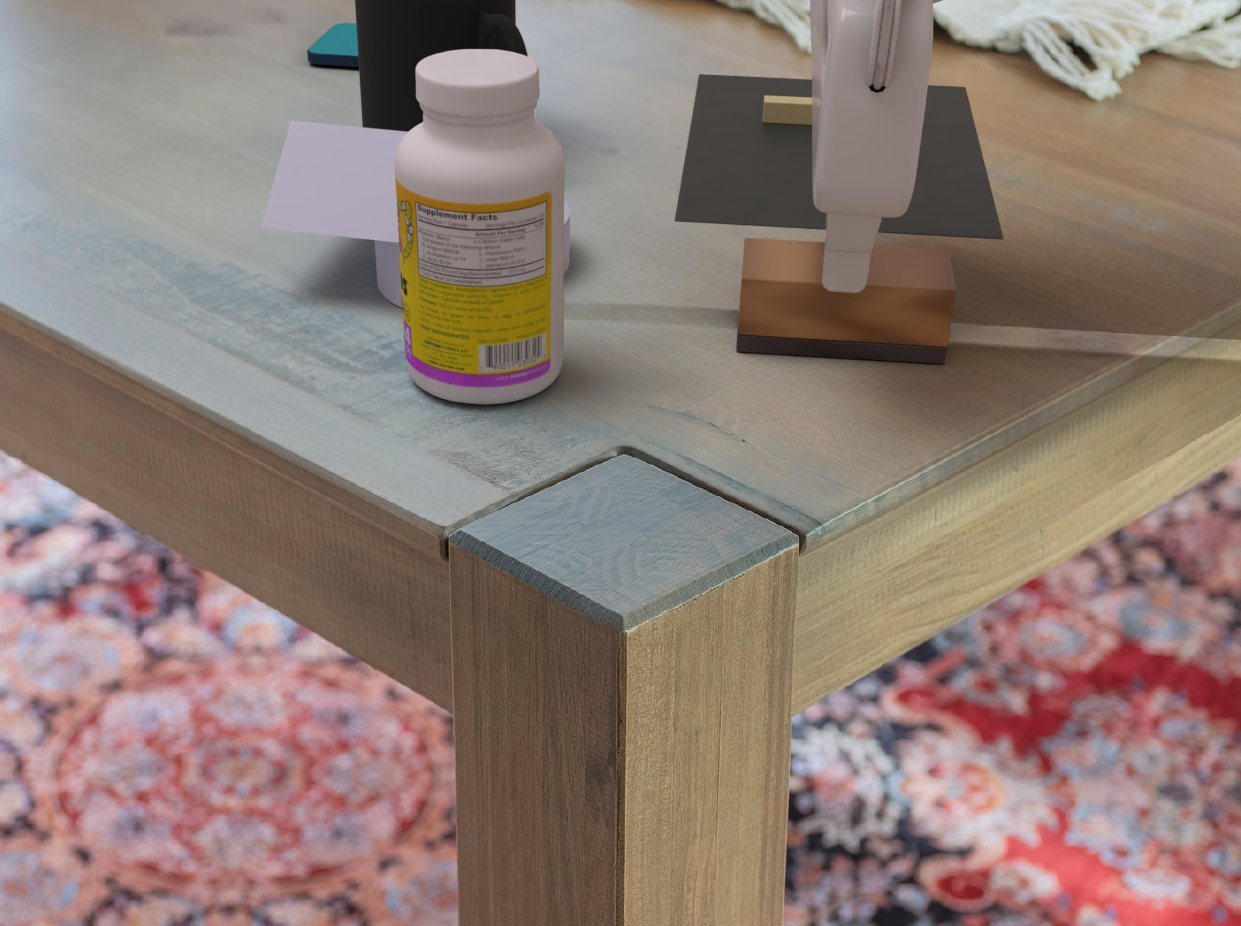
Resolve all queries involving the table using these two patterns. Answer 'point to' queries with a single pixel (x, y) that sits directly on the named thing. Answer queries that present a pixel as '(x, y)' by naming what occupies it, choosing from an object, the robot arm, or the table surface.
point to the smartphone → (336, 47)
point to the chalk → (787, 110)
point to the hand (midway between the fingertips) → (840, 241)
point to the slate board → (782, 164)
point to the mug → (420, 48)
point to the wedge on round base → (347, 192)
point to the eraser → (845, 304)
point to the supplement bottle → (481, 231)
